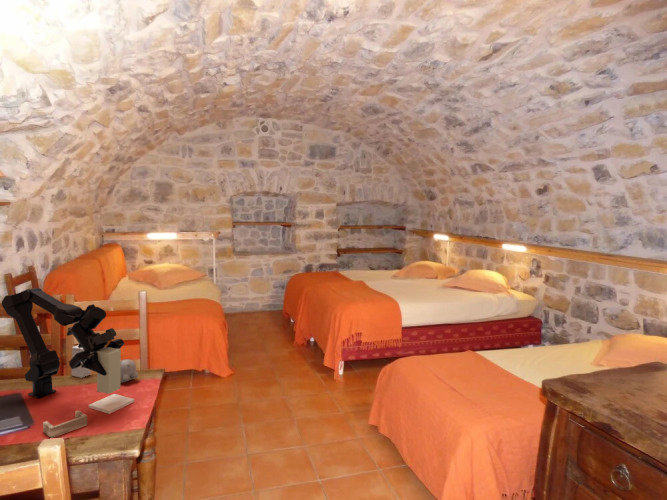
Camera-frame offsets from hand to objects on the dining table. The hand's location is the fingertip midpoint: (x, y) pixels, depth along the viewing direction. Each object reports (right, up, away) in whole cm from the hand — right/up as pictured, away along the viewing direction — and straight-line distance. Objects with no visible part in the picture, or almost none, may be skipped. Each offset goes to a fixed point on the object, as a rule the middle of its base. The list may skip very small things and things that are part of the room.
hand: (112, 372), depth 142 cm
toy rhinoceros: (-8, -11, +24) cm, 27 cm away
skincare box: (-28, -10, +28) cm, 40 cm away
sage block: (-2, -6, +1) cm, 7 cm away
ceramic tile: (-1, -12, +3) cm, 13 cm away
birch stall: (-7, -13, -14) cm, 20 cm away
